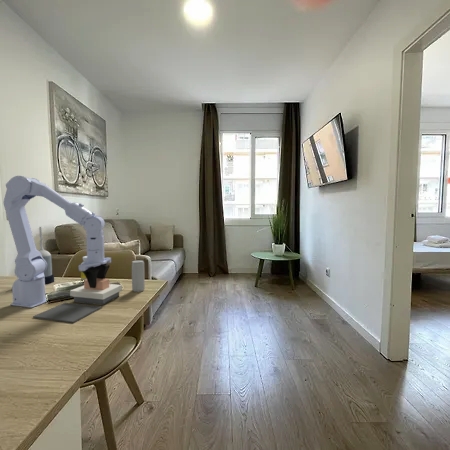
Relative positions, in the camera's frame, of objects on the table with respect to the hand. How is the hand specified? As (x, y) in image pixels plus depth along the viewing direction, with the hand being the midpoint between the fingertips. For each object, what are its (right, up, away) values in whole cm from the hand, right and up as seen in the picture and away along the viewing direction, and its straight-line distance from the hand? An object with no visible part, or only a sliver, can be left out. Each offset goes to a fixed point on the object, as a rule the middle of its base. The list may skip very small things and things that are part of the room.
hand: (96, 285), depth 99 cm
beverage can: (+12, -5, +11) cm, 17 cm away
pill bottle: (-14, -4, +22) cm, 27 cm away
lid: (0, -3, 0) cm, 3 cm away
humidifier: (-34, -4, +21) cm, 40 cm away
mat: (-3, -6, -12) cm, 14 cm away
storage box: (0, -5, 0) cm, 5 cm away
